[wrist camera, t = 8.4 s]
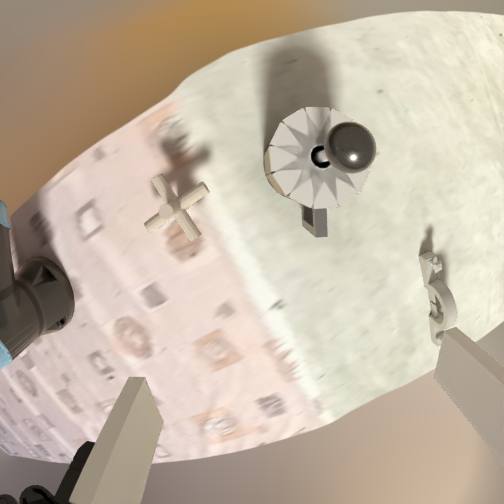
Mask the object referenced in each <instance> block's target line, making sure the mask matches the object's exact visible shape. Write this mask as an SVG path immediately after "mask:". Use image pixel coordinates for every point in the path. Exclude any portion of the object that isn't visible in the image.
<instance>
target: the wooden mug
mask: <svg viewBox="0 0 504 504" xmlns="http://www.w3.org/2000/svg"><path fill="white" fill-rule="evenodd" d="M352 121H353V119H351V118H349V117H347V116H346V115H344V114H342V113H340V112H339V111H337V110H335V109H333V108H331V109H329V107H305V108H304V109H303V108H301V109H300V110H298V111H296V112H295V113H293V114H291V115H290V116H288V117H286V118H285V119H283V120H282V122H280V124H279V126H278V128H277V130H276V132H275V134H274V136H273V138H272V140H271V142H270V144H269V146H268V147H267V150H266V152H265V155H264V171H265V175H266V177H267V180H268V181H269V183H270V185H271V186H272V187H273V188H274V189H275V190H276V192H278V193H280V194H281V195H283V196H284V197H287V198H289V199H292V200H294V201H296V202H299V203H301V208H302V226H303V227H304V228H306V229H307V230H308V231H309V232H310V233H311V234H312V235H314V236H315V237H327V210H326V208H338V207H337V206H339V207H340V206H342V205H343V204H345V203H346V202H348V201H349V200H351V199H352V198H354V197H355V196H357V195H358V194H359V193H358V191H359V192H361V190H362V188H363V186H364V184H365V182H366V179H367V177H368V175H369V173H370V170H368V169H366V170H364V171H362V172H359V173H354V174H349V173H344V172H341V171H339V170H337V169H336V168H335V167H333V166H332V165H331V164H330V165H329V166H327V167H326V168H318V167H317V166H315V165H314V164H313V162H312V161H311V152H312V150H313V148H314V147H316V146H323V147H324V141H325V138H326V135H327V133H328V132H329V130H330V129H331V128H332V127H334V126H335V125H337V124H339V123H342V122H352ZM355 123H356V122H355ZM368 168H371V165H370V166H369V167H368ZM312 208H313V209H312Z"/></svg>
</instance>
